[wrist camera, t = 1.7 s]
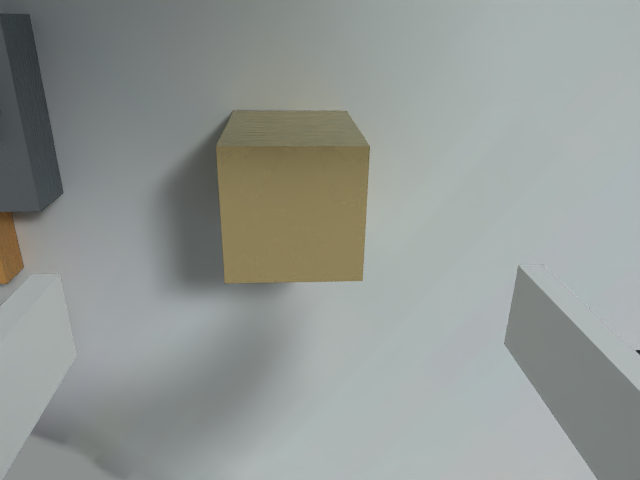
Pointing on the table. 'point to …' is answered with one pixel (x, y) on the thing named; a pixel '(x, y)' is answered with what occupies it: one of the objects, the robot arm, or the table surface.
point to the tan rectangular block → (292, 196)
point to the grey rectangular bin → (22, 138)
